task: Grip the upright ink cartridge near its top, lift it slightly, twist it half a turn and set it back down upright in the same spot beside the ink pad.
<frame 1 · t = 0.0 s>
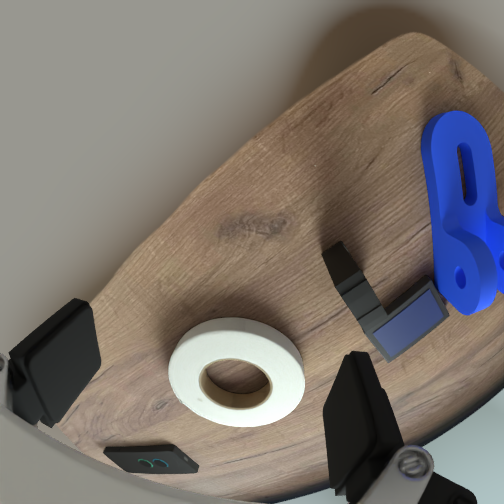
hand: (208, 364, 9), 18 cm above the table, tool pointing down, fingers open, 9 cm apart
bracket: (459, 198, 24), on the table
ink pad: (405, 318, 28), on the table
tape roll: (237, 370, 32), on the table
smart home device: (148, 457, 42), on the table
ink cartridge: (343, 265, 27), on the table
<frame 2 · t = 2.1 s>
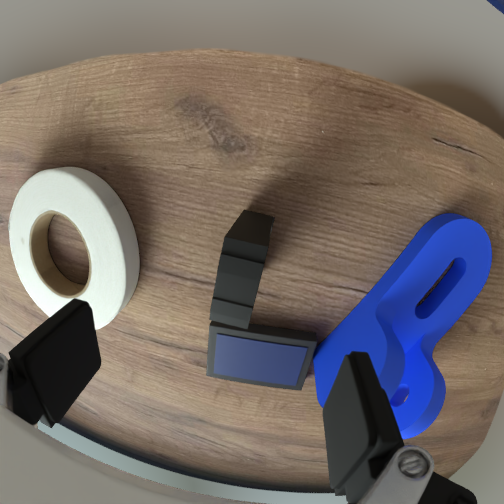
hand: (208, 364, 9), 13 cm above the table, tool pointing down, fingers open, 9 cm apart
bracket: (410, 301, 22), on the table
ink pad: (259, 351, 25), on the table
tape roll: (74, 246, 24), on the table
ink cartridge: (252, 242, 22), on the table
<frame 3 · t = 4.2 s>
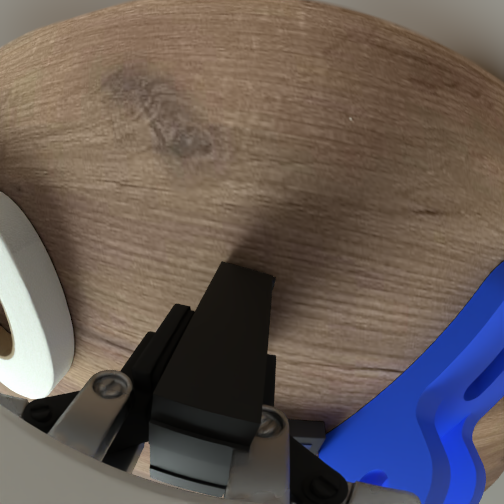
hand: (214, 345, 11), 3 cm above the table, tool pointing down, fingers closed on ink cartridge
bracket: (454, 373, 13), on the table
ink pad: (245, 440, 16), on the table
tape roll: (3, 290, 15), on the table
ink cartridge: (237, 311, 13), on the table, touching gripper
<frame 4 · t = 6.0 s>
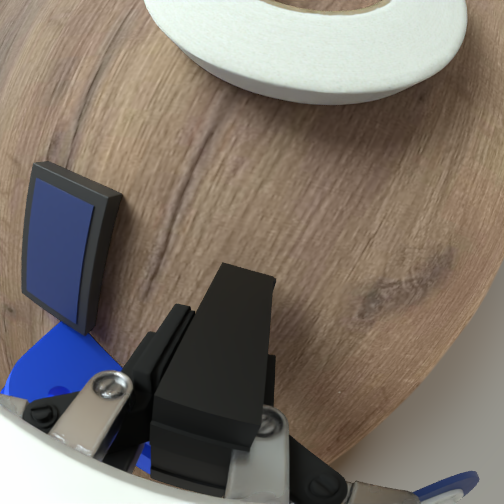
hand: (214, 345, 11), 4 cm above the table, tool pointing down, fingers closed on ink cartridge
bracket: (133, 414, 19), on the table
ink pad: (67, 246, 15), on the table
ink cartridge: (237, 312, 13), point 2 cm above the table, touching gripper
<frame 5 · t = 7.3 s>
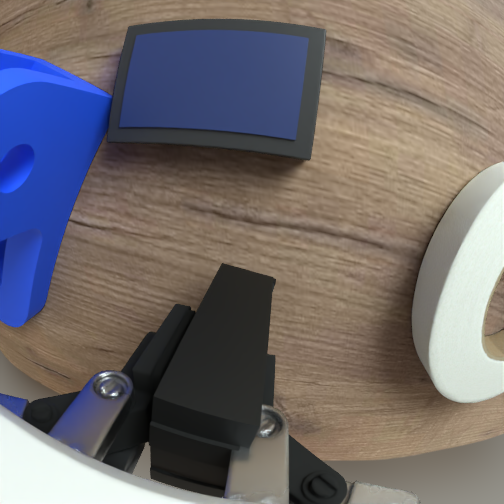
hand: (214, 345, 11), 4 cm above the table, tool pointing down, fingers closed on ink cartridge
bracket: (25, 207, 14), on the table
ink pad: (215, 85, 11), on the table
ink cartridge: (237, 312, 13), point 1 cm above the table, touching gripper
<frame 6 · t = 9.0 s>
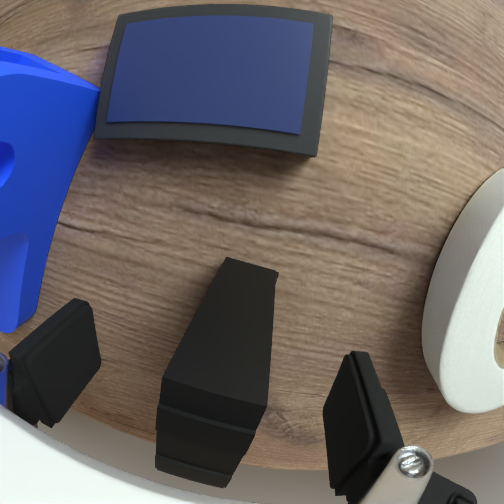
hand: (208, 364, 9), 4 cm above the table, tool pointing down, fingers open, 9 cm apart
bracket: (14, 208, 13), on the table
ink pad: (211, 75, 10), on the table
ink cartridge: (240, 306, 13), on the table
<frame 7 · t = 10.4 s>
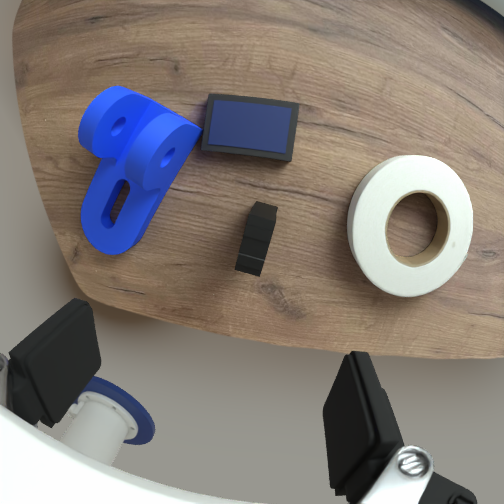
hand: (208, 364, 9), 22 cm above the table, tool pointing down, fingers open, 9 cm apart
bracket: (134, 181, 30), on the table
ink pad: (250, 127, 27), on the table
tape roll: (409, 223, 29), on the table
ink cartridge: (261, 225, 31), on the table
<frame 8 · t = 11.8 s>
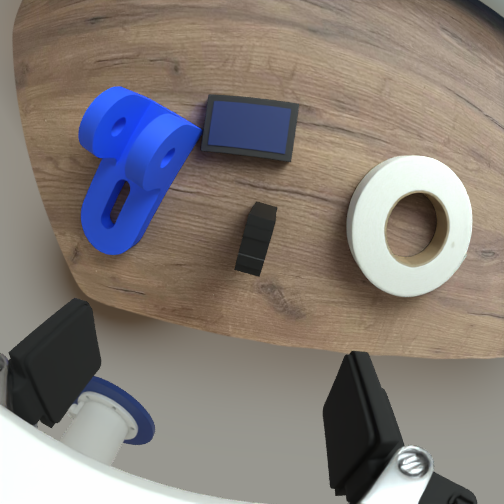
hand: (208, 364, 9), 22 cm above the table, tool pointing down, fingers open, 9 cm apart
bracket: (134, 181, 30), on the table
ink pad: (250, 127, 27), on the table
tape roll: (408, 224, 29), on the table
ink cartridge: (260, 225, 31), on the table
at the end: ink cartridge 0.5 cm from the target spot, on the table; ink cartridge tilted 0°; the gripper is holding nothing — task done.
